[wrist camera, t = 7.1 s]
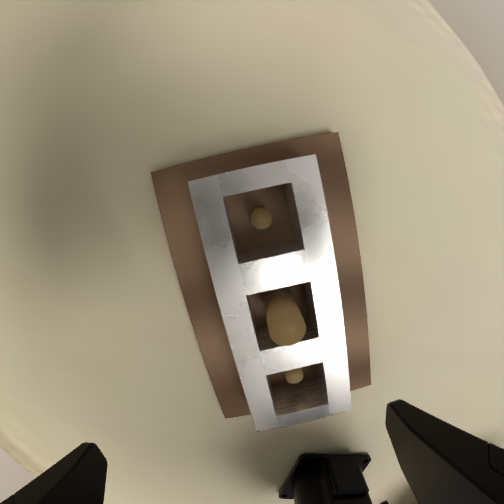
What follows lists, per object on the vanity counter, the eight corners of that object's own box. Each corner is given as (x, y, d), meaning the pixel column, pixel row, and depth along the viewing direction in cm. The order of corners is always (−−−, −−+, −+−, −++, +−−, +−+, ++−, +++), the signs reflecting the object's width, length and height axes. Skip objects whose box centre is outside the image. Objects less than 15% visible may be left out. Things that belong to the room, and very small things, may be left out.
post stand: (366, 378, 20) (393, 423, 15) (225, 411, 20) (223, 463, 15) (333, 133, 17) (367, 118, 12) (154, 172, 17) (123, 171, 12)
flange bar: (339, 383, 19) (351, 409, 16) (254, 402, 19) (256, 431, 17) (303, 158, 16) (315, 154, 13) (196, 181, 16) (187, 181, 13)
